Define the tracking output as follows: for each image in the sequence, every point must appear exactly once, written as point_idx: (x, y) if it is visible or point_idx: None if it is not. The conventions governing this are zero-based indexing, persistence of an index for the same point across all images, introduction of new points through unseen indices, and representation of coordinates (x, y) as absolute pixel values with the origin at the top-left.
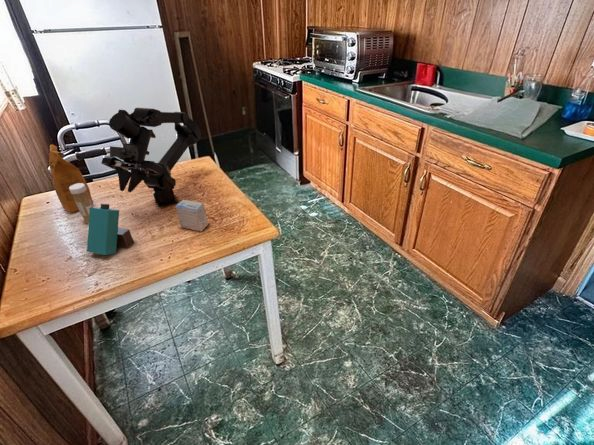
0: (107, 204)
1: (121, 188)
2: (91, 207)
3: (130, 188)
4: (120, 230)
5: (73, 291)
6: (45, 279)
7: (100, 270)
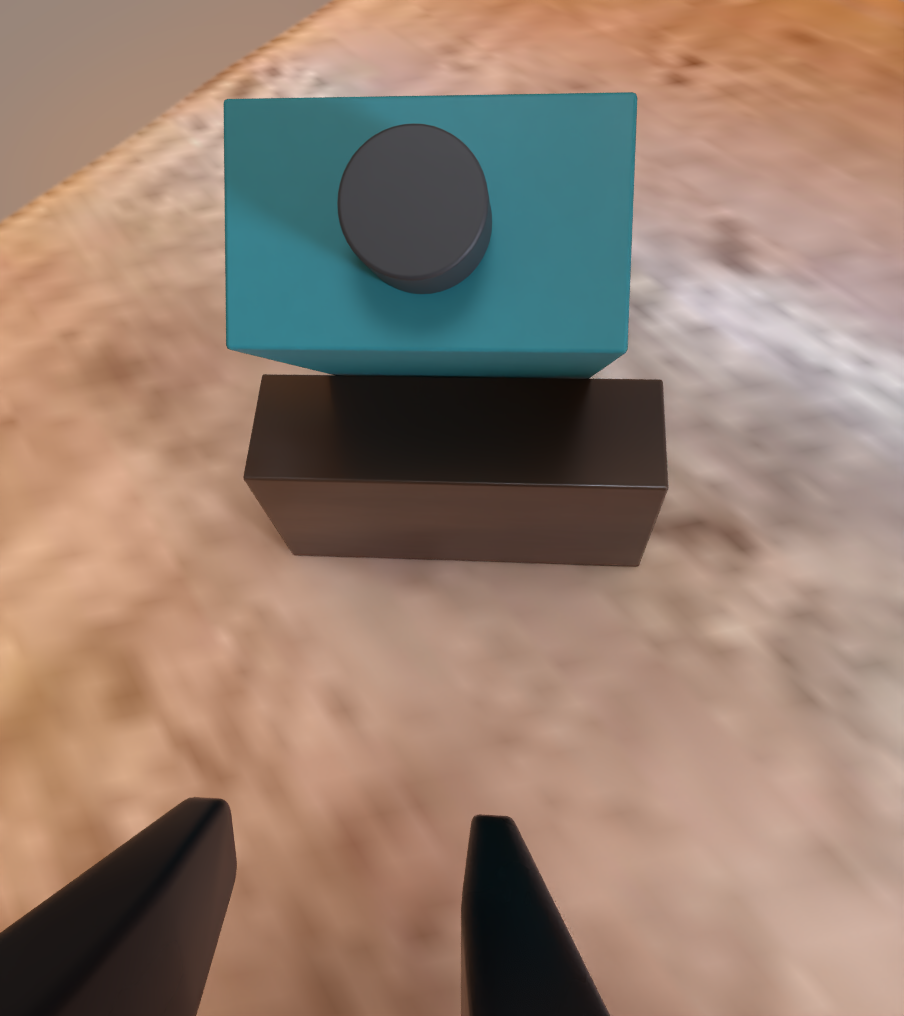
0: (347, 193)
1: (469, 856)
2: (628, 120)
3: (119, 866)
4: (336, 435)
5: (404, 48)
6: (692, 70)
7: None
